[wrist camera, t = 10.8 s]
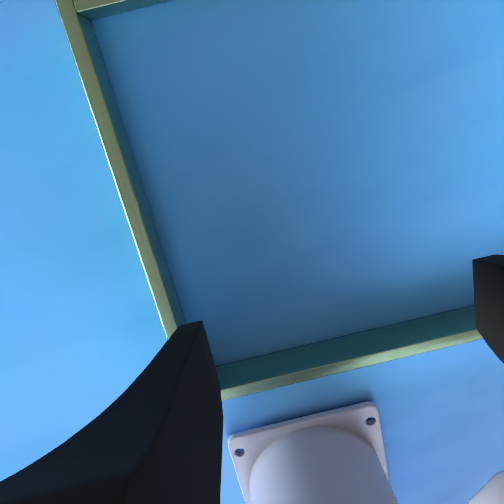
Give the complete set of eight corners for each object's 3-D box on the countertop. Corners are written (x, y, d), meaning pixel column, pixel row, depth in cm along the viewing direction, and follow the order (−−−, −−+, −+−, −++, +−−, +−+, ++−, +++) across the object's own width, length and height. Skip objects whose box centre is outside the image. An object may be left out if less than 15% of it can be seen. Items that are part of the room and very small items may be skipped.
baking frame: (577, 290, 23) (609, 308, 21) (191, 382, 23) (190, 409, 22) (587, -119, 17) (632, -143, 16) (70, 6, 17) (52, -3, 16)
